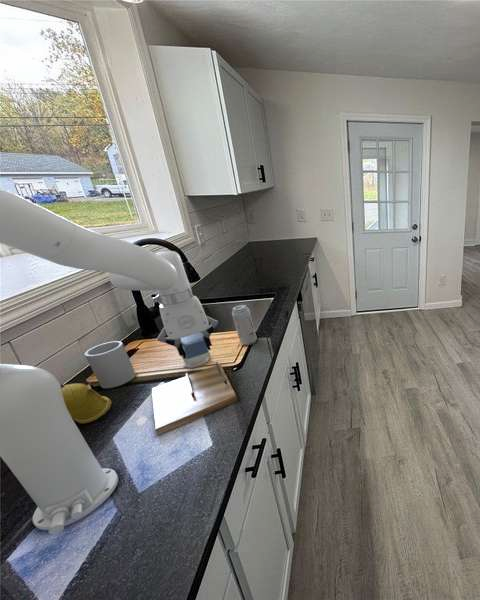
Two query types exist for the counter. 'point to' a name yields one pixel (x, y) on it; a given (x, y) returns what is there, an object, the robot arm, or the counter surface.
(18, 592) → the counter surface
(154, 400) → the wooden base
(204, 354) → the blue and white block
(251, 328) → the energy drink can
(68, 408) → the yellow rounded dome part
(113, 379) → the cup
